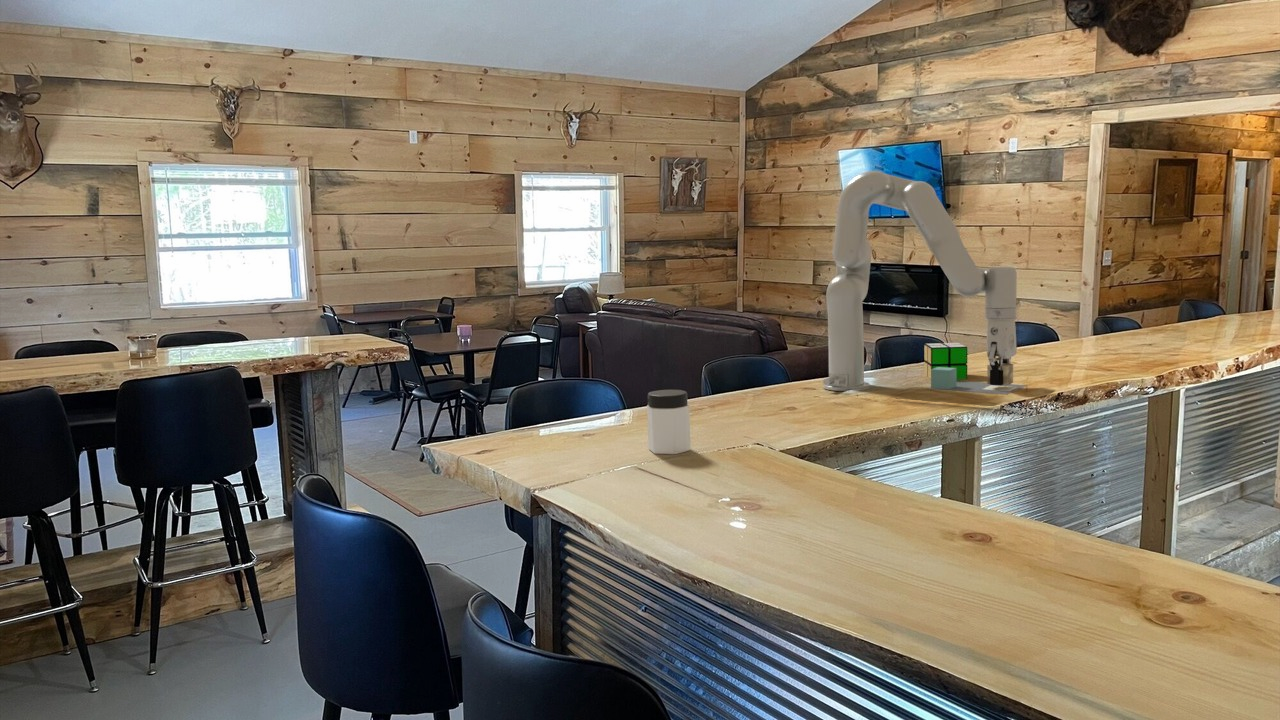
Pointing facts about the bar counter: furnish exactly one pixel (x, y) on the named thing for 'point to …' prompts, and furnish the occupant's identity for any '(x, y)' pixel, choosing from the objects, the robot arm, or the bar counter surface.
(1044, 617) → the bar counter surface
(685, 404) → the jar
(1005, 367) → the maple block
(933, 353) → the puzzle cube
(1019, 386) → the slate board
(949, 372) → the teal block
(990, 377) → the robot arm
